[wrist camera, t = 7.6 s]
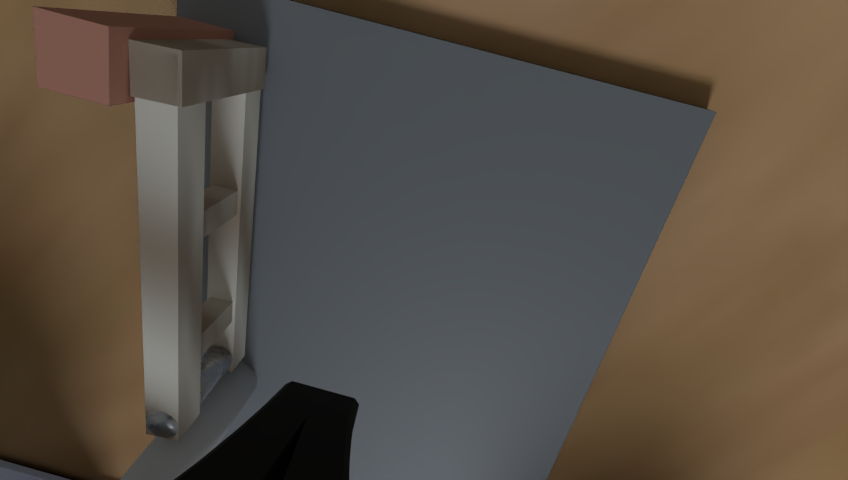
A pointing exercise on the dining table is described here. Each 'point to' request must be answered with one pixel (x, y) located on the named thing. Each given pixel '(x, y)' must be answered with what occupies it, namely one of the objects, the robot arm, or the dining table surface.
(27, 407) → the dining table surface
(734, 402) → the dining table surface
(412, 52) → the gate frame
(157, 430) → the gate
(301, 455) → the robot arm
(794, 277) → the dining table surface
